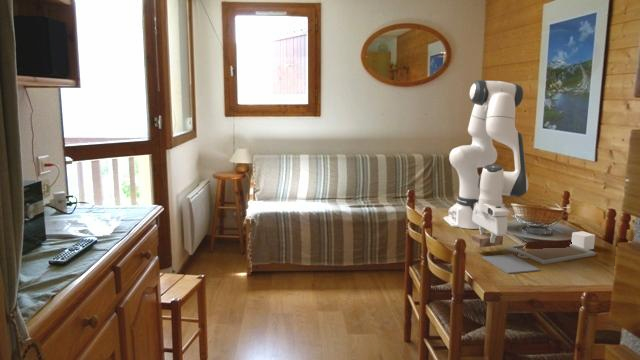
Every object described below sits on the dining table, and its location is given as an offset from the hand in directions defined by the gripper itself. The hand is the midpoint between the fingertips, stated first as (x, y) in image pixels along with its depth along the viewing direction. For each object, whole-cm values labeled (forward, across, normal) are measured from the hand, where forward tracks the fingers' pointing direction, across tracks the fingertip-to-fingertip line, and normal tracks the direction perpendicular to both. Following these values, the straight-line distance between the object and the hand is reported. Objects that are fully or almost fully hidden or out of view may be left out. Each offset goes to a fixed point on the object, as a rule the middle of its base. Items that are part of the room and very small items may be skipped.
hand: (487, 239), depth 194 cm
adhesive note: (+5, +3, +42) cm, 42 cm away
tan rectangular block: (+2, 0, 0) cm, 2 cm away
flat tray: (+6, +5, +24) cm, 25 cm away
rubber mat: (+5, +14, +1) cm, 15 cm away
